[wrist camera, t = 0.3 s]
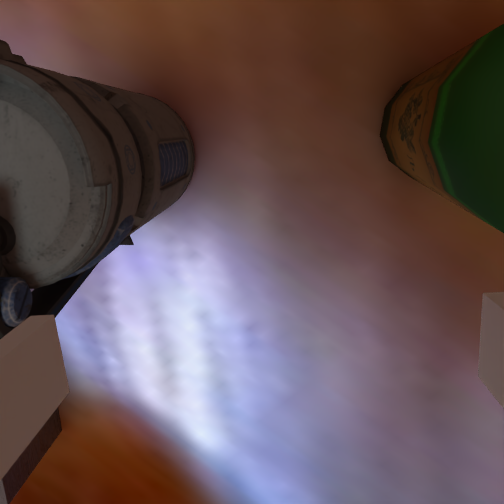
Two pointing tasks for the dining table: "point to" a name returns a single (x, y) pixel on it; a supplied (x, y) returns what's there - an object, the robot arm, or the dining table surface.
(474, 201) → the bottle
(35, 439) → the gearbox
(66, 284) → the beverage bottle
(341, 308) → the dining table surface
